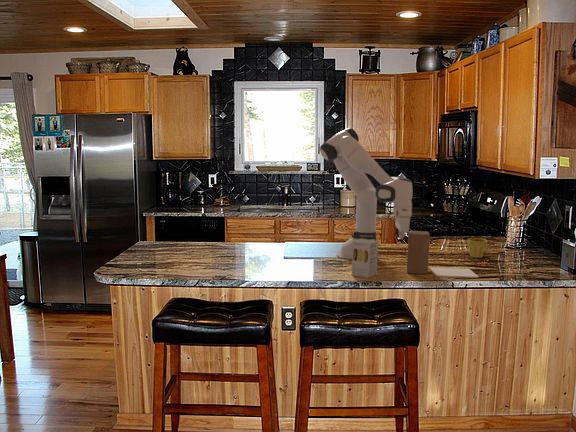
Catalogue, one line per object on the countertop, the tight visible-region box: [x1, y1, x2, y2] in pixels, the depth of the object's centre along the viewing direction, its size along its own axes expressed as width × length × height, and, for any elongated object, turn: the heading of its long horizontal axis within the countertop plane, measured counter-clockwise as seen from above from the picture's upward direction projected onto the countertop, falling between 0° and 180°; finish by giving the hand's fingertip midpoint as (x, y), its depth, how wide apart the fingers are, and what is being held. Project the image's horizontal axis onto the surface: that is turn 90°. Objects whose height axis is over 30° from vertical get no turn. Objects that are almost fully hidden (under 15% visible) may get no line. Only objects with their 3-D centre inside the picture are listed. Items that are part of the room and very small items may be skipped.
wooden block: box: [406, 230, 431, 276], centre depth 282 cm, size 10×10×20 cm
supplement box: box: [351, 239, 379, 279], centre depth 274 cm, size 10×9×17 cm
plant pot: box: [467, 237, 488, 259], centre depth 322 cm, size 10×10×10 cm
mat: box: [429, 267, 479, 279], centre depth 283 cm, size 20×16×1 cm
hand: (401, 238), depth 281 cm, fingers closed
